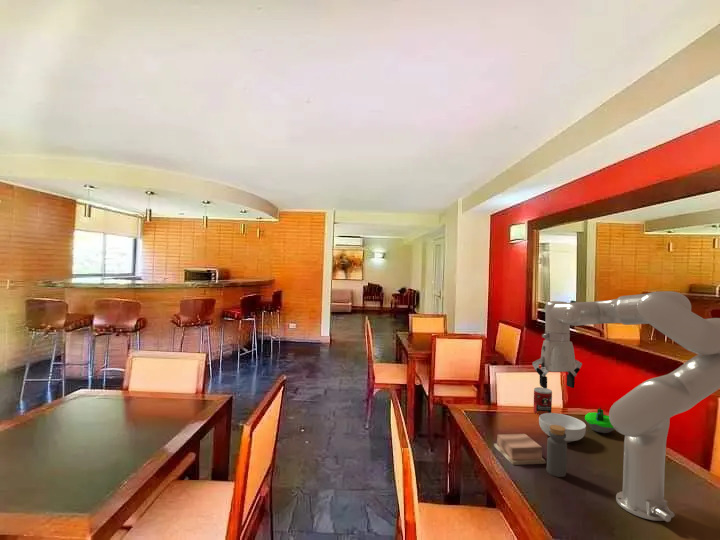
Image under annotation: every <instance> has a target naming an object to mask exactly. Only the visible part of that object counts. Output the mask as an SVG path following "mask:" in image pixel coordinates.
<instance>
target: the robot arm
mask: <svg viewBox="0 0 720 540" xmlns="http://www.w3.org/2000/svg"><path fill="white" fill-rule="evenodd" d="M544 316H545V317H544V318H545V319H544V320H545V325H544V326H545V327H544V328H545V329H544V333H541V338H544V340H543V341H542V342H543V343H542V347H541V354H540V358H539V359H536V360H535V361H532V367H533V368H534V371H535V372H536V373H537V375H539V386H540V387H542V388H547V389H548V376H547V375H548V374H549V372H554V373H555V372H557V373H560V372H561V373H562V372H564V373H566V372H567V374H566V386H567V387H569V388H571V389H574V388H575V383H576V382H575V380H576V379H575V378H576V377H577V374H578V373H579V371H580V370H581V368H582V365H583V363H582V362H580V361H579V360H578V359H575V358H576V356H575V350H574V345H573V342H572V341H570V338H571V334H570V333H571V332H570V330H571V327H570V326H574V327H577V326H587V325H589V326H590V325H603V324H622V325H625V326H626V325H627V326H629V325H646V324H647V325H648V324H649V325H650V326H652V327H653V329H656V330H657V331H658V332H660V333H661V334H662V335H664V336H665V337H667V338H669V339H670V340H672V341H674V342H675V343H676V344H678V345H679V346H680V347H682V348H684V349H685V350H686V351H689V352H691V353H694V354H696V355H695V356H693V357H690V359H689V360H687V361H685V362H684V363H683V364H682V365H680V366H678V368H676V369H674V370H673V371H671V372H669V373H667V374H664V375H659V376H657V377H652V378H649V379H647V380H645V381H642V383H639V384H638V385H637V386H635V387H634V388H633V389H632V390H631V389H630V391H629V392H627V393H626V394H625V395H623V396H621V398H619V399H618V400H616V401H615V402H613V404H612V405H611V407H610V408H609V411H608V416H609V419H610V422H611V425H612V426H613V427H614V431H616V432H617V433H619V434H621V435H623V436H624V441H623V467H622V470H623V472H622V491H619V492H617V493H616V495H615V501H616V503H617V504H618V505H619V506H620V507H621V508H622V509H623V510H625V511H626V512H628V513H630V514H631V515H634V516H636V517H639V518H642V519H644V520H645V519H646V520H650V521H653V522H655V521H657V522H662V521H665V522H666V523H669V522H671V520H672V518H675V515H676V513H675V512H673V511H672V510H670V508H669V507H668V500H666V499H665V471H666V450H667V449H666V447H667V441H668V440H667V439H668V438H667V437H668V434H669V429H670V420H671V419H670V418H673V417H674V416H676V415H679V414H682V413H685V412H687V411H689V410H690V409H692V408H693V407H695V406H696V405H697V404H698V403H700V402H701V401H702V400H703V401H704V399H706V398H708V397H709V396H710V395H712V394H713V393H715V392H717V391H718V390H719V389H720V317H711V318H703V317H702V316H700V315H698V314H697V313H695V312H693V311H692V303H691V301H690V300H689V298H688V297H687V296H686V295H684V294H682V293H681V292H677V291H668V290H667V291H652V292H649V293H641V294H631V295H621V296H618V297H617V298H616V299H615V298H613V299H608V300H596V301H577V302H576V301H575V302H567V301H560V300H559V301H558V300H557V301H556V300H555V301H554V300H553V301H552V300H550V301H547V302H546V303H545V315H544ZM539 365H540V366H541V367H539Z"/></svg>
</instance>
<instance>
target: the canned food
mask: <svg viewBox="0 0 720 540" xmlns="http://www.w3.org/2000/svg"><path fill="white" fill-rule="evenodd" d="M552 400H553V391H552V390H551V389H549V388H548V387H547V388H543V387H541V386H540V387H537V386H536V387H535V388H534V389H533V412H535V413H534V414H536V413H537V414H536V415H538V414H539V415H538V416H540V415H541V414H544V413H552V405H553V404H552V403H553V402H552Z"/></svg>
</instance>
